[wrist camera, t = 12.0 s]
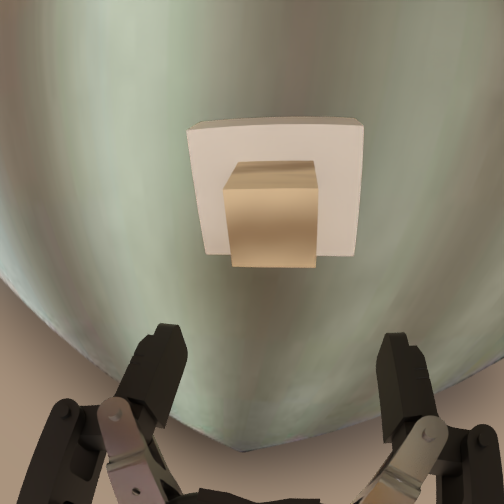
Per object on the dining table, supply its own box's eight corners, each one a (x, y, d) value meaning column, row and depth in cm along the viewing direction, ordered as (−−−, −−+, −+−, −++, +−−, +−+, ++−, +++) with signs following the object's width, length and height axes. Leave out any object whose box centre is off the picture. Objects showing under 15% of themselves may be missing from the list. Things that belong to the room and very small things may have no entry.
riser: (200, 121, 27) (186, 130, 24) (354, 117, 25) (363, 125, 21) (215, 233, 33) (205, 254, 30) (348, 234, 31) (353, 256, 28)
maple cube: (238, 161, 25) (222, 189, 20) (313, 160, 24) (318, 188, 19) (244, 226, 28) (232, 266, 23) (312, 226, 27) (315, 267, 22)
